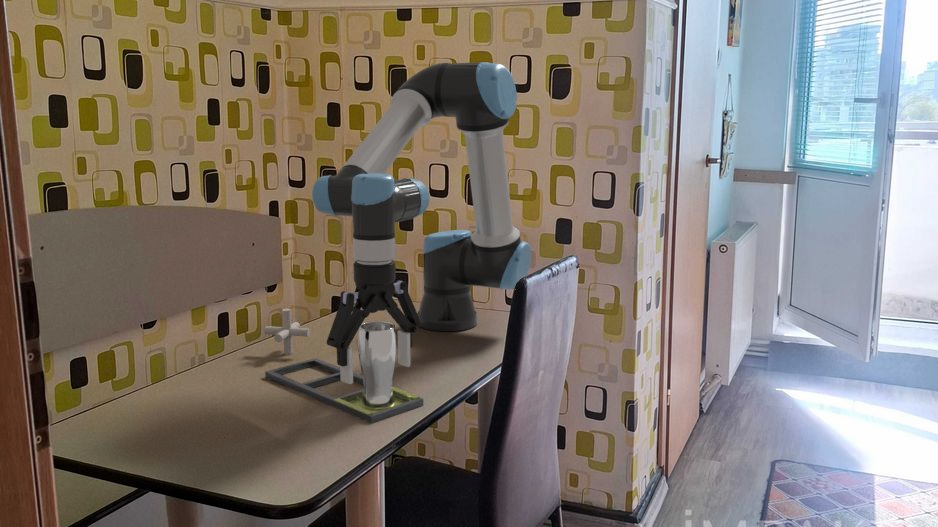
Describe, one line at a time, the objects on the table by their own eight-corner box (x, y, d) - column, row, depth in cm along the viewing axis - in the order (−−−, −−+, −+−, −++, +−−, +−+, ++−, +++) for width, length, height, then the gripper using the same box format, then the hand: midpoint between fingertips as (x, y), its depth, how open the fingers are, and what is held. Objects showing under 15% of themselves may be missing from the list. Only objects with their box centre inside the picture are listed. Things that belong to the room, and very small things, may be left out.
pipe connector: (301, 361, 184) (299, 316, 182) (257, 359, 186) (255, 314, 184) (317, 348, 194) (316, 305, 192) (276, 345, 196) (274, 303, 194)
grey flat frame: (315, 363, 183) (315, 357, 183) (423, 405, 160) (423, 397, 160) (265, 377, 175) (265, 370, 174) (371, 423, 151) (371, 415, 151)
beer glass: (372, 394, 165) (371, 319, 162) (403, 400, 162) (403, 323, 158) (351, 406, 159) (350, 328, 156) (383, 413, 155) (382, 333, 152)
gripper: (412, 248, 165) (413, 354, 170) (304, 267, 148) (308, 384, 152) (439, 254, 160) (439, 362, 165) (330, 274, 143) (333, 395, 147)
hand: (376, 373), depth 159 cm, fingers open, 13 cm apart
